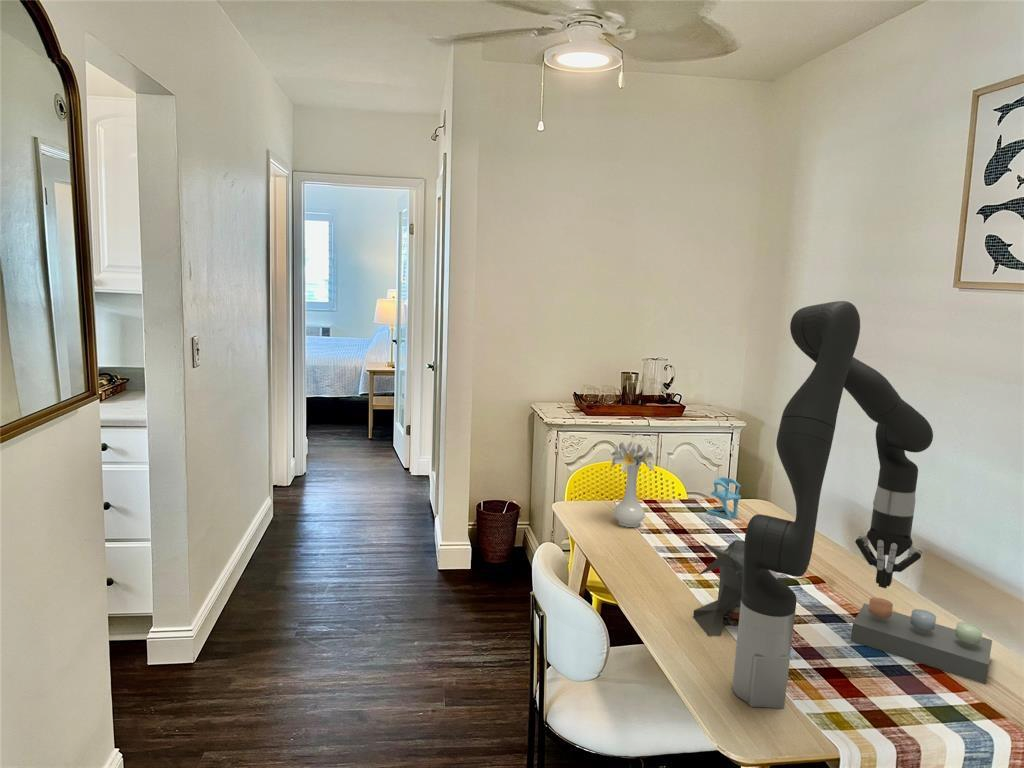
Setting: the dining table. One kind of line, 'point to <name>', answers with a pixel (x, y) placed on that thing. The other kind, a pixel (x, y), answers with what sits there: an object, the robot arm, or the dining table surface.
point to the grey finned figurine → (723, 589)
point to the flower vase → (631, 482)
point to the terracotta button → (880, 607)
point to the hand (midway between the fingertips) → (882, 586)
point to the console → (922, 644)
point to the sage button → (968, 633)
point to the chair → (725, 498)
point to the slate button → (923, 619)
